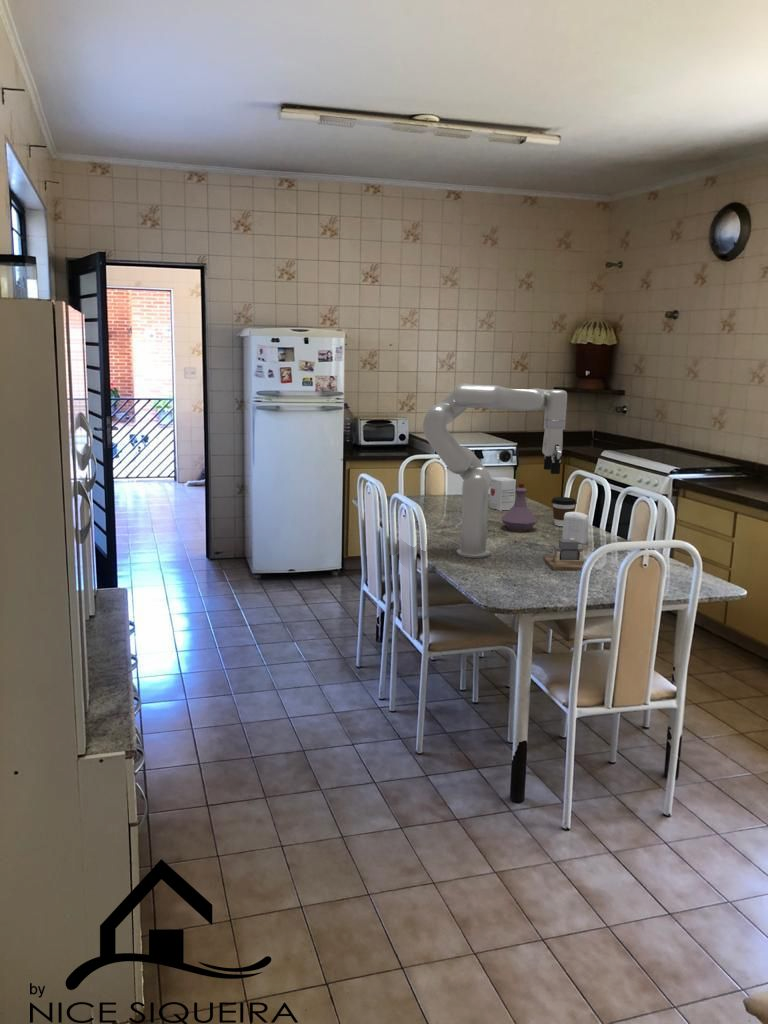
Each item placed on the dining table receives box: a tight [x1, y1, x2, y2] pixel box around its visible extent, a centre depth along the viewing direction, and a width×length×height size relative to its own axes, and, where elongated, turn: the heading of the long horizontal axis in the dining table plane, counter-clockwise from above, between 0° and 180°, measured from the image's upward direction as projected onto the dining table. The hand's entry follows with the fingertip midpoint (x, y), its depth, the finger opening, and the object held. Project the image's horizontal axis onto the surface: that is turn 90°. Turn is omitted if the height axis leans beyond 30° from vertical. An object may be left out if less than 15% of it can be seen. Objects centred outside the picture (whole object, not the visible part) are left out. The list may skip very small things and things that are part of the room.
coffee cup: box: [550, 496, 577, 527], centre depth 359 cm, size 11×11×12 cm
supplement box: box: [488, 476, 517, 512], centre depth 391 cm, size 9×9×15 cm
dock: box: [543, 547, 585, 571], centre depth 296 cm, size 14×14×6 cm
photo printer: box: [561, 511, 590, 545], centre depth 330 cm, size 10×4×12 cm, turn 56°
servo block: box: [553, 538, 584, 560], centre depth 295 cm, size 4×10×9 cm, turn 94°
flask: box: [500, 482, 538, 532], centre depth 350 cm, size 16×16×20 cm
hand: (551, 471), depth 296 cm, fingers open, 9 cm apart
